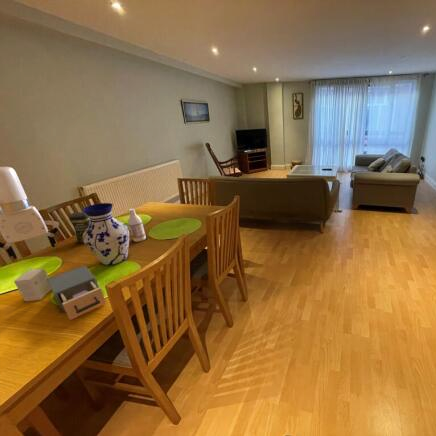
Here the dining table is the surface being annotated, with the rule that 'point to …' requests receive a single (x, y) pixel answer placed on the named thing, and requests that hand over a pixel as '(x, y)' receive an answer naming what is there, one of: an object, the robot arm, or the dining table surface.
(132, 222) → the bath foam
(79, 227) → the coffee jar
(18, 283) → the small box
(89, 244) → the vase
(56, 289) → the drawer box
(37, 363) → the dining table surface
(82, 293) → the lavender rounded block
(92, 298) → the sliding drawer
